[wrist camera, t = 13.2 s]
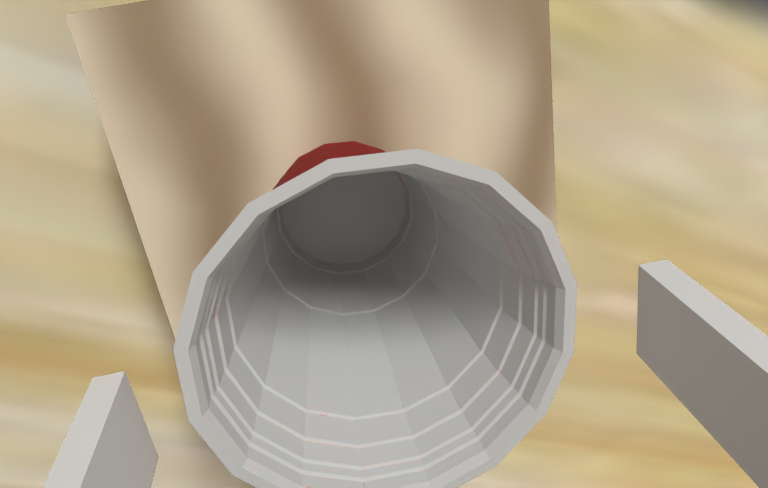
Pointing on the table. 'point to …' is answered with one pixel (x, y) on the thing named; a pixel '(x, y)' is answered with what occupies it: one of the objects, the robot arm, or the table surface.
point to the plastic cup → (376, 324)
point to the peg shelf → (306, 101)
